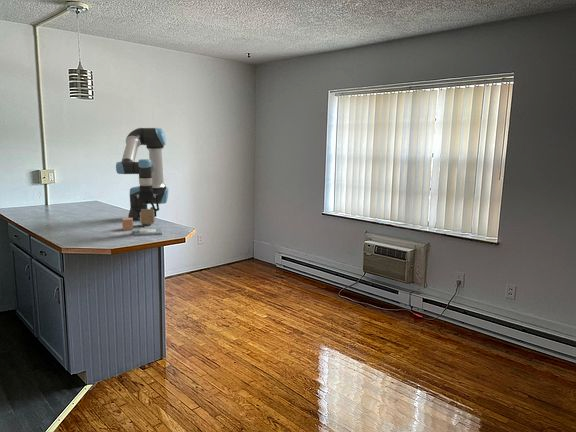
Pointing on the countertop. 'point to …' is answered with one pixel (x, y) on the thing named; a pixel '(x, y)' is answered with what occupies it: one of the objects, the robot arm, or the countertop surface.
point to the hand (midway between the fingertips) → (147, 222)
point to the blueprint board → (147, 231)
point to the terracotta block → (127, 224)
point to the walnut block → (147, 216)
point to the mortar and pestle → (147, 224)
